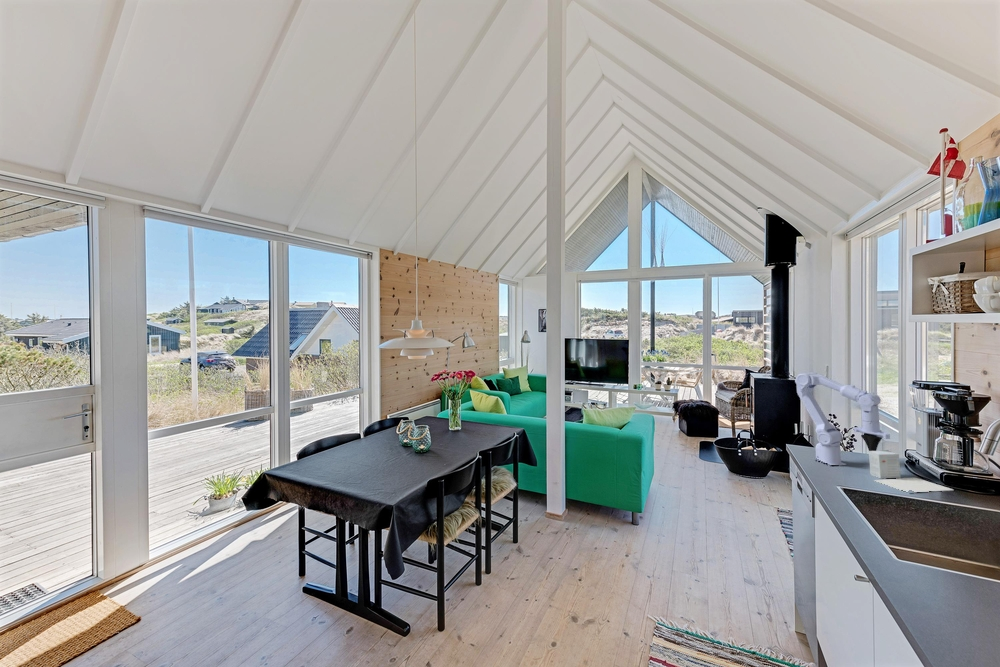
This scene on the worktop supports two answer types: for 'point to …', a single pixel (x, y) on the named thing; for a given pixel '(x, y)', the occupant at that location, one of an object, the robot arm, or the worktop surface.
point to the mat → (913, 485)
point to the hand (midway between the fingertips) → (872, 451)
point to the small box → (884, 464)
